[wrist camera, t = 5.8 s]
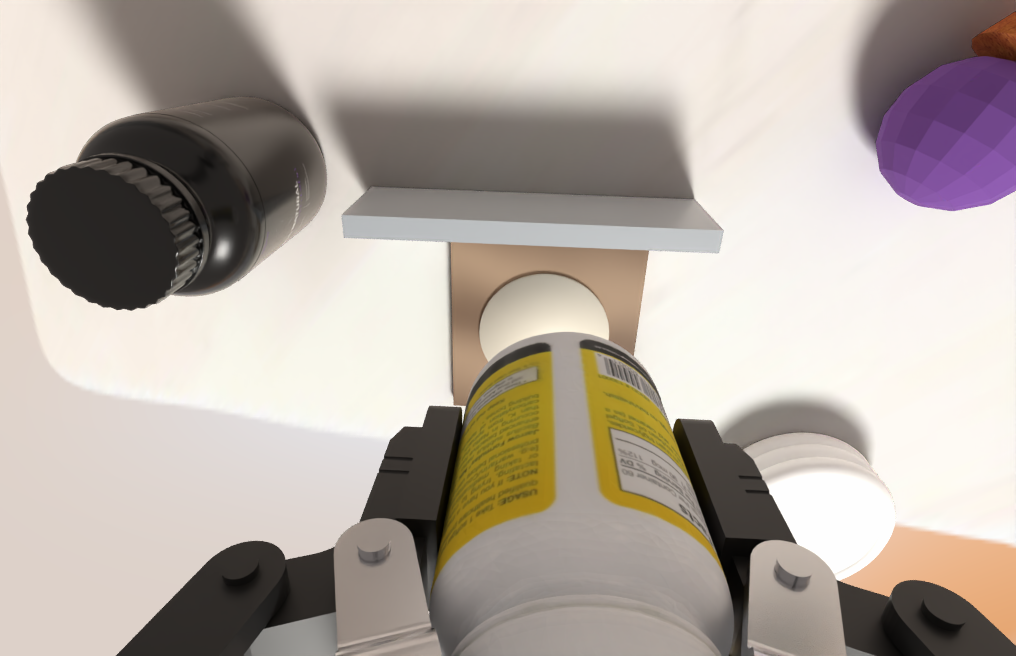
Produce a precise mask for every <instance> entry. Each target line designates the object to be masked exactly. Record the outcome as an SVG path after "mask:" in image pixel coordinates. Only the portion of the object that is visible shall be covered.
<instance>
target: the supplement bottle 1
mask: <svg viewBox="0 0 1016 656" xmlns="http://www.w3.org/2000/svg"><path fill="white" fill-rule="evenodd" d="M326 186H327V174H326V167H325V162H324V158H323V155H322V153H321V150H320V148H319V146H318V144H317V142H316V140H315V138H314V137H313V135H312V134H311V133H310V131H309V130H308V129H307V127H306V126H305V125H304V124H303V123H302V122H301V121H300V120H299V119H298V118H297V117H295V116H294V115H293V114H292V113H290V112H289V111H287V110H286V109H284V108H283V107H281V106H279V105H277V104H275V103H273V102H270V101H267V100H264V99H260V98H255V97H231V98H224V99H218V100H212V101H207V102H201V103H196V104H190V105H185V106H179V107H174V108H168V109H163V110H157V111H152V112H147V113H141V114H136V115H132V116H128V117H125V118H121V119H118V120H116V121H113V122H111V123H109V124H107V125H105V126H104V127H102V128H101V129H100V130H98V131H97V132H96V133H95V134H94V135H93V136H92V137H91V138H90V139H89V140H88V141H87V143H86V144H85V145H84V147H83V148H82V150H81V152H80V154H79V156H78V158H77V161H76V163H73V164H70V165H66V166H63V167H60V168H59V169H58V170H57V171H53V172H50V173H48V174H47V175H46V176H45V179H44V180H42V181H39V182H38V183H37V185H36V190H35V191H33V192H32V193H31V194H30V198H31V200H30V202H29V203H28V205H27V211H28V215H27V218H26V221H27V224H28V226H29V230H28V234H29V236H30V238H31V239H32V241H33V248H34V249H35V251H36V252H37V253H38V254H39V256H40V260H41V262H42V263H43V264H44V265H46V266H47V267H48V269H49V271H50V273H51V274H52V275H53V276H55V277H56V278H58V279H59V281H60V282H61V284H62V285H63V286H65V287H67V288H69V289H71V290H72V292H73V293H74V294H75V295H78V296H81V297H83V298H85V299H86V300H87V301H88V302H91V303H97V304H98V305H100V306H102V307H111V308H114V309H116V310H121V309H127V310H131V311H132V310H135V309H137V308H147V307H149V306H150V305H152V304H157V303H159V302H161V301H162V300H164V299H165V298H167V297H168V296H169V295H175V296H186V297H187V296H203V295H208V294H212V293H215V292H218V291H221V290H223V289H225V288H228V287H229V286H231V285H232V284H234V283H236V282H237V281H239V280H240V279H241V278H243V277H244V276H245V275H246V274H248V273H249V272H250V271H251V270H253V269H254V268H255V267H256V266H258V265H259V264H260V263H261V262H263V261H264V260H265V259H266V258H268V257H269V256H270V255H271V254H272V253H274V252H275V251H276V250H277V249H279V248H280V247H281V246H282V245H284V244H285V243H286V242H287V241H289V240H290V239H291V238H292V237H293V236H295V235H296V234H297V233H298V232H300V231H301V230H302V229H303V228H304V227H305V226H307V225H308V224H309V223H310V222H311V221H312V219H313V218H314V217H315V216H316V214H317V213H318V211H319V210H320V208H321V205H322V203H323V200H324V197H325V193H326Z"/></svg>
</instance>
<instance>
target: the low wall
mask: <svg viewBox="0 0 1016 656" xmlns="http://www.w3.org/2000/svg"><path fill="white" fill-rule="evenodd" d="M342 224H343V234H344V238H363V239H387V240H411V241H435V242H459V243H483V244H507V245H531V246H555V247H579V248H603V249H627V250H651V251H675V252H699V253H719V251H720V246H721V241H722V236H723V231H724V230H723V229H722V228H721V227H720V226H719V225H718V224H717V223H716V222H715V221H714V219H713V218H712V217H711V216H710V215H709V214H708V213H707V212H706V211H705V210H704V209H703V208H702V206H701V205H700V204H699V203H698V202H697V201H696V200H695V199H675V198H650V197H624V196H598V195H573V194H547V193H522V192H496V191H471V190H445V189H420V188H394V187H371V188H370V189H369V190H367V191H366V192H365V193H364V194H363V195H362V196H361V197H360V198H359V199H358V200H357V201H356V202H355V203H354V204H353V205H352V206H351V207H349V208H348V209H347V210H346V211H345V212H344V213H343V214H342Z"/></svg>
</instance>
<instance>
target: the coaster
mask: <svg viewBox="0 0 1016 656" xmlns="http://www.w3.org/2000/svg"><path fill="white" fill-rule="evenodd" d="M743 451H744V452H745V453H747V454H748V455H749V456H750V457H751V458H752V459H753V460H754V462H755V464H756V466H757V468H758V469H759V471H760V473H761V475H762V480H764V481H765V483H766V485H767V487H768V489H769V491H770V495H772V496H773V498H774V500H775V502H776V504H777V506H778V508H779V510H780V512H781V514H782V515H783V517H784V519H785V521H786V523H787V525H788V527H789V529H790V531H791V533H792V535H793V537H794V538H795V540H796V542H797V544H798V545H800V546H802V547H804V548H806V549H808V550H810V551H812V552H813V553H815V554H816V555H817V556H819V557H820V558H821V559H822V560H823V561H825V563H826V564H827V565H828V566H829V567H830V569H831V570H832V571H833V573H834V575H835V577H836V580H838V581H839V580H841V579H843V578H846V577H848V576H850V575H852V574H854V573H855V572H857V571H859V570H860V569H861V568H863V567H865V566H866V565H867V564H869V563H870V562H871V561H872V560H873V559H874V558H875V557H876V556H877V555H878V554H879V553H880V552H881V551H882V549H883V548H884V546H885V545H886V543H887V542H888V540H889V538H890V536H891V534H892V532H893V529H894V526H895V520H896V510H895V505H894V501H893V498H892V495H891V493H890V491H889V489H888V487H887V486H886V485H885V484H884V482H883V481H882V480H881V479H880V478H879V476H878V474H877V473H876V472H875V470H874V469H873V468H872V467H871V466H870V465H869V463H868V461H867V460H866V459H865V457H864V456H863V455H862V454H861V453H860V452H859V451H857V450H856V449H855V448H853V447H852V446H850V445H849V444H847V443H845V442H843V441H841V440H839V439H837V438H834V437H831V436H827V435H822V434H817V433H788V434H782V435H777V436H773V437H770V438H766V439H763V440H761V441H759V442H756V443H754V444H752V445H750V446H748V447H746V448H744V449H743Z"/></svg>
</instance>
